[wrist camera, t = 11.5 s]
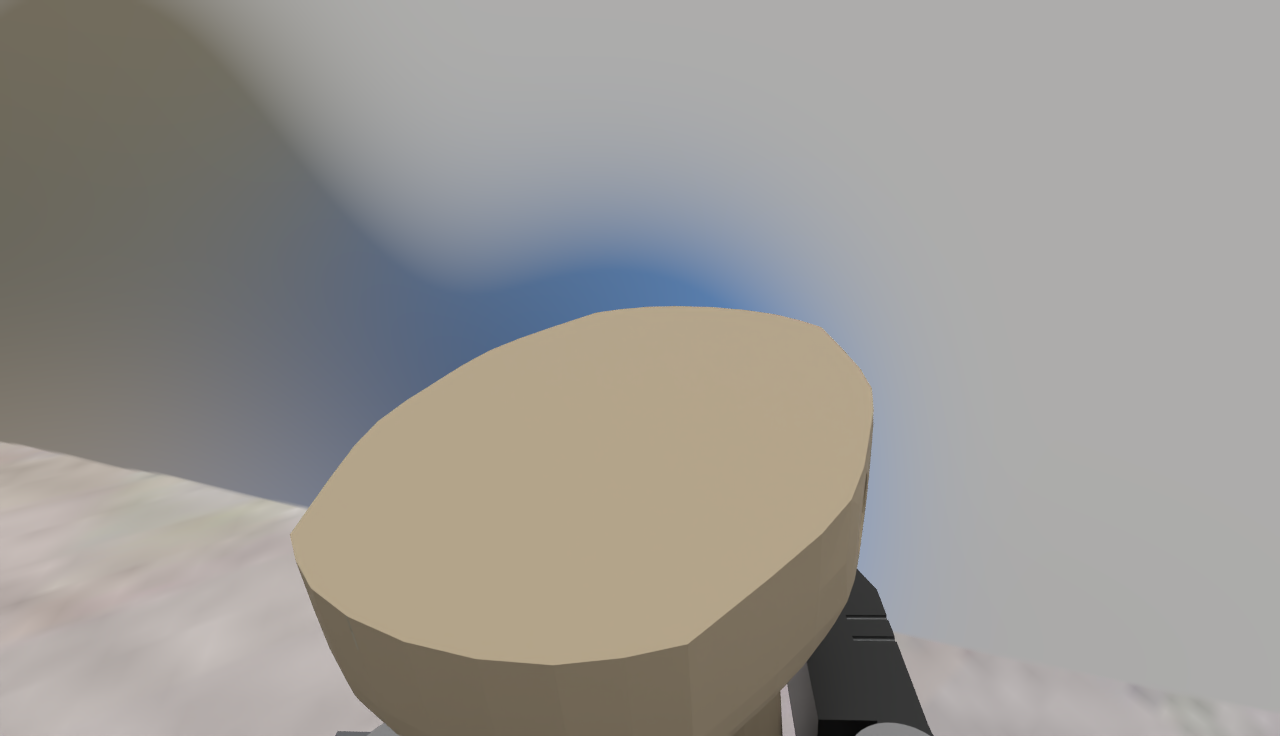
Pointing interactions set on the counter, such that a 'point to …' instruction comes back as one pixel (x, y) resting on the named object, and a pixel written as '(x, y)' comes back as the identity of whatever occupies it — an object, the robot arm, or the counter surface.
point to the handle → (599, 530)
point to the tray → (351, 733)
